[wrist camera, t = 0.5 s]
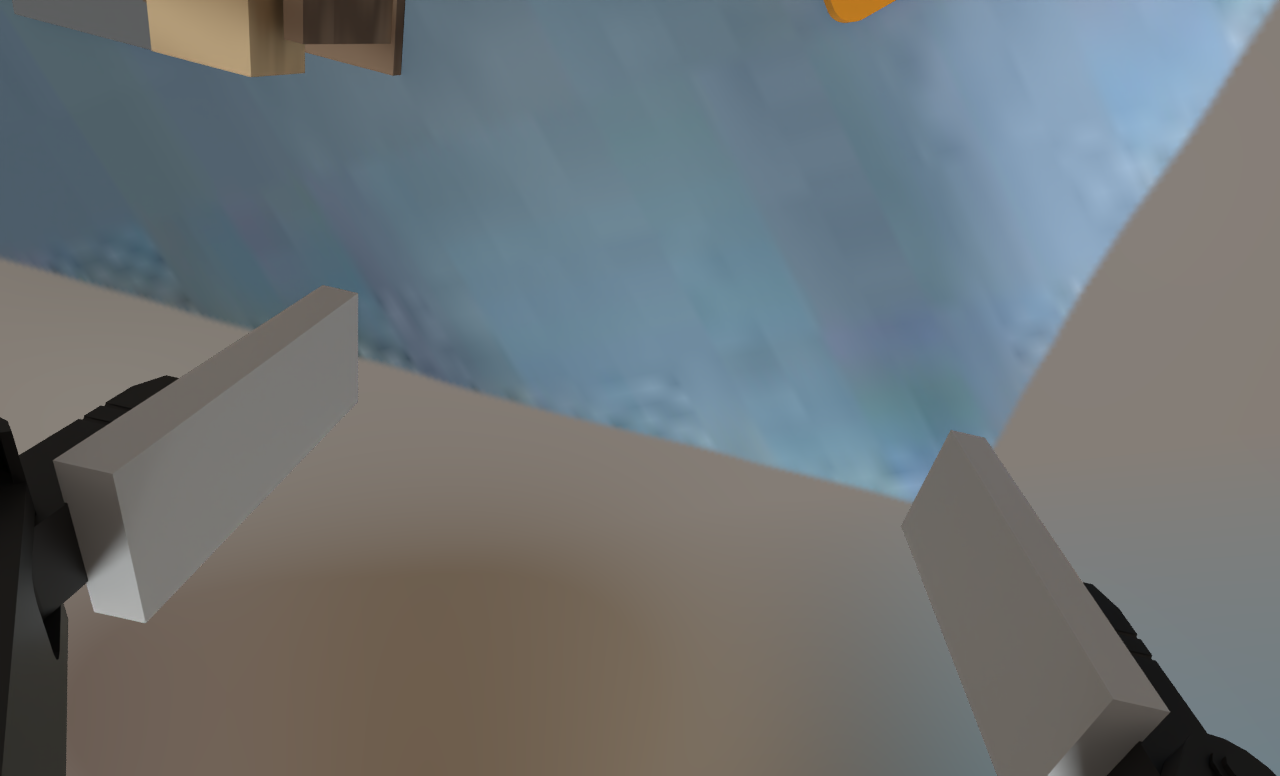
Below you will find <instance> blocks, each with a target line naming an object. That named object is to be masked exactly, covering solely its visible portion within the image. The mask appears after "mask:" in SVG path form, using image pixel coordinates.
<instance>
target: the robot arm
mask: <svg viewBox="0 0 1280 776" xmlns="http://www.w3.org/2000/svg"><path fill="white" fill-rule="evenodd" d="M357 402H358V293H355V292H350V291H346V290H342V289H337V288H333V287H329V286H324V285H322V286H321V287H319V288H318V289H316V290H315V291H313V292H311V293H310V294H308V295H307V296H305V297H304V298H302V299H301V300H299V301H298V302H296V303H295V304H293V305H291V306H290V307H288V308H287V309H285V310H284V311H282V312H281V313H279V314H278V315H276V316H274V317H273V318H271V319H270V320H268V321H267V322H265V323H264V324H262V325H261V326H259V327H258V328H256V329H254V330H253V331H251V332H250V333H248V334H247V335H245V336H244V337H242V338H241V339H239V340H237V341H236V342H234V343H233V344H231V345H230V346H228V347H227V348H225V349H224V350H222V351H221V352H219V353H218V354H216V355H215V356H213V357H211V358H210V359H208V360H207V361H205V362H204V363H202V364H201V365H199V366H197V367H196V368H194V369H193V370H191V371H190V372H188V373H187V374H185V375H184V376H182V377H180V378H175V377H171V376H167V375H166V376H163V377H160V378H157V379H153V380H151V381H148V382H144V383H141V384H138V385H135V386H132V387H130V388H129V389H127V390H126V391H124V392H122V393H121V394H119V395H117V396H116V397H114V398H112V399H111V400H109V401H107V402H106V404H105V406H99V407H98V408H96V409H94V410H93V411H91V412H89V413H88V414H86V415H84V419H83V420H81V419H78V420H76V421H75V422H73V423H72V424H70V425H68V426H66V427H65V428H63V429H61V430H60V431H58V432H57V433H55V434H53V435H52V436H50V437H48V438H47V439H45V440H43V441H42V442H40V443H38V444H37V445H35V446H34V447H32V448H30V449H29V450H27V451H25V452H24V453H22V454H20V455H18V451H17V448H16V445H15V441H14V438H13V435H12V431H11V429H10V426H9V424H8V421H6V420H4V419H2V418H0V776H66V730H67V728H66V727H67V725H66V724H67V723H66V722H67V659H68V655H67V654H68V617H67V614H66V610H65V607H64V604H63V603H64V602H65V601H66V600H67V599H68V598H70V597H71V596H72V595H73V594H74V593H75V592H77V591H78V590H79V589H80V588H81V587H82V586H83V585H84V584H85V583H86V584H87V588H88V591H89V595H90V599H91V602H92V606H93V610H94V612H98V613H102V614H106V615H111V616H115V617H120V618H124V619H129V620H133V621H138V622H142V623H146V622H147V621H148V620H149V619H150V618H151V617H152V616H153V615H154V614H155V613H156V612H157V611H158V610H159V609H160V608H161V607H162V606H163V605H164V603H166V602H167V600H168V599H169V598H170V597H171V596H172V595H173V594H174V593H175V592H176V591H177V590H178V589H179V588H180V587H181V586H182V585H183V584H184V583H185V582H186V581H187V580H188V579H189V577H191V575H192V574H193V573H194V572H195V571H196V570H197V569H198V568H199V567H200V566H201V565H202V564H203V563H204V562H205V561H206V560H207V559H208V558H209V557H210V556H211V555H212V553H214V551H215V550H216V549H217V548H218V547H219V546H220V545H221V544H222V543H223V542H224V541H225V540H226V539H227V538H228V537H229V536H230V535H231V534H232V533H233V532H234V531H235V529H236V528H237V527H238V526H239V525H240V524H241V523H242V522H243V521H244V520H245V519H246V518H247V517H248V516H249V515H250V514H251V513H252V512H253V511H254V510H255V509H256V508H257V507H258V506H259V505H260V503H261V502H262V501H263V500H264V499H265V498H266V497H267V496H268V495H269V494H270V493H271V492H272V491H273V490H274V489H275V488H276V487H277V486H278V484H280V483H281V482H282V481H283V479H284V478H285V477H286V476H287V475H288V474H289V473H290V472H291V471H292V470H293V469H294V468H295V467H296V466H297V465H298V464H299V463H300V462H301V461H302V459H304V458H305V457H306V455H307V454H308V453H309V452H310V451H311V450H312V449H313V448H314V447H315V446H316V445H317V444H318V443H319V442H320V441H321V440H322V439H323V438H324V437H325V436H326V435H327V433H329V431H330V430H331V429H332V428H333V427H334V426H335V425H336V424H337V423H338V422H339V421H340V420H341V419H342V418H343V417H344V416H345V415H346V414H347V413H348V412H349V410H350V409H352V407H353V406H354V405H355V404H356V403H357ZM901 527H902V530H903V532H904V535H905V537H906V540H907V543H908V545H909V548H910V550H911V553H912V555H913V558H914V560H915V563H916V566H917V569H918V571H919V573H920V576H921V579H922V582H923V584H924V587H925V589H926V592H927V595H928V597H929V600H930V602H931V605H932V608H933V610H934V613H935V615H936V618H937V620H938V623H939V625H940V628H941V631H942V633H943V636H944V639H945V641H946V644H947V646H948V649H949V652H950V654H951V657H952V659H953V662H954V664H955V667H956V670H957V672H958V675H959V678H960V680H961V683H962V685H963V688H964V690H965V693H966V696H967V698H968V701H969V704H970V706H971V708H972V711H973V714H974V716H975V719H976V722H977V724H978V727H979V729H980V732H981V735H982V737H983V739H984V742H985V745H986V747H987V750H988V753H989V755H990V758H991V761H992V763H993V766H994V768H995V770H996V773H997V776H1276V775H1275V774H1274V773H1273V772H1272V771H1271V770H1270V769H1269V768H1268V767H1267V766H1266V765H1264V764H1263V763H1261V762H1260V761H1259V760H1258V759H1256V758H1255V757H1254V756H1252V755H1251V754H1250V753H1248V752H1247V751H1246V750H1244V749H1242V748H1240V747H1238V746H1236V745H1235V744H1233V743H1231V742H1229V741H1227V740H1225V739H1223V738H1220V737H1216V736H1213V735H1210V734H1207V733H1206V731H1205V730H1204V728H1203V727H1202V725H1201V724H1200V722H1199V721H1198V720H1197V718H1196V717H1195V715H1194V714H1193V712H1192V711H1191V710H1190V708H1189V707H1188V705H1187V704H1186V703H1185V701H1184V700H1183V698H1182V697H1181V696H1180V694H1179V693H1178V691H1177V690H1176V688H1175V687H1174V686H1173V684H1172V683H1171V681H1170V680H1169V679H1168V677H1167V676H1166V674H1165V673H1164V671H1163V670H1162V669H1161V668H1160V666H1159V664H1158V663H1157V662H1156V661H1155V660H1152V659H1151V657H1152V655H1151V653H1150V652H1149V650H1148V649H1147V647H1146V646H1145V645H1144V643H1143V642H1142V640H1141V639H1137V637H1136V636H1137V633H1136V632H1135V631H1134V629H1133V628H1132V626H1131V625H1130V623H1129V622H1128V621H1127V619H1126V618H1125V616H1124V615H1123V614H1122V612H1121V611H1120V609H1119V608H1118V607H1116V606H1115V605H1114V604H1113V603H1112V602H1111V601H1110V600H1109V599H1108V598H1107V597H1106V596H1105V595H1103V594H1102V593H1101V592H1100V591H1099V590H1098V589H1097V588H1096V587H1095V586H1094V585H1092V584H1088V583H1084V582H1082V581H1081V579H1080V578H1079V576H1078V575H1077V574H1076V572H1075V570H1074V569H1073V568H1072V566H1071V564H1070V563H1069V562H1068V560H1067V559H1066V557H1065V556H1064V554H1063V553H1062V551H1061V550H1060V548H1059V547H1058V545H1057V544H1056V542H1055V541H1054V539H1053V538H1052V537H1051V535H1050V533H1049V532H1048V531H1047V529H1046V528H1045V526H1044V525H1043V523H1042V522H1041V520H1040V519H1039V517H1038V516H1037V514H1036V513H1035V511H1034V510H1033V508H1032V507H1031V505H1030V504H1029V502H1028V501H1027V499H1026V498H1025V496H1024V495H1023V494H1022V492H1021V491H1020V489H1019V488H1018V486H1017V485H1016V483H1015V482H1014V480H1013V479H1012V477H1011V476H1010V474H1009V473H1008V472H1007V470H1006V468H1005V467H1004V465H1003V464H1002V463H1001V461H1000V460H999V458H998V457H997V455H996V454H995V452H994V451H993V449H992V448H991V446H990V445H989V443H988V442H987V440H986V439H985V438H983V437H979V436H974V435H970V434H966V433H961V432H957V431H953V430H951V431H950V433H949V435H948V436H947V438H946V440H945V442H944V444H943V446H942V448H941V450H940V452H939V454H938V456H937V458H936V460H935V462H934V463H933V465H932V467H931V469H930V471H929V473H928V475H927V477H926V479H925V481H924V483H923V485H922V487H921V488H920V490H919V492H918V494H917V496H916V498H915V500H914V502H913V504H912V506H911V508H910V510H909V512H908V514H907V516H906V518H905V520H904V521H903V523H902V525H901Z"/></svg>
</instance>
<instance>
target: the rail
mask: <svg viewBox="0 0 1280 776" xmlns="http://www.w3.org/2000/svg"><path fill="white" fill-rule="evenodd" d="M146 1H147V11H148V21H149V30H150V40H151V50H152V51H154V52H158V53H162V54H165V55H169V56H173V57H177V58H181V59H184V60H188V61H192V62H196V63H200V64H203V65H207V66H211V67H215V68H218V69H222V70H226V71H230V72H234V73H237V74H241V75H245V76H249V77H259V76H272V75H285V74H298V73H305V44H300V43H296V42H293V41H289V40H285V39H284V20H283V0H146Z"/></svg>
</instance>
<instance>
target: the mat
mask: <svg viewBox="0 0 1280 776" xmlns="http://www.w3.org/2000/svg"><path fill="white" fill-rule="evenodd" d="M12 2H13V8H14V13H15V14H17V15H21V16H25V17H28V18H32V19H36V20H40V21H43V22H47V23H51V24H55V25H59V26H62V27H66V28H70V29H74V30H78V31H81V32H85V33H89V34H93V35H96V36H100V37H104V38H108V39H112V40H115V41H119V42H123V43H127V44H130V45H134V46H138V47H142V48H146V49H149V50H151V40H150V30H149V21H148V11H147V3H146V2H143V0H12Z"/></svg>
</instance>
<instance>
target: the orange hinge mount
mask: <svg viewBox="0 0 1280 776" xmlns="http://www.w3.org/2000/svg"><path fill="white" fill-rule="evenodd" d="M894 1H895V0H824V2H825V5H826V8H827V10H828V13H829V14H830V16H831V17H832V18H833V19H834V20H836V21H838V22H842V23H848V22H855V21H859V20H862V19H864V18H865V17H867V16H869V15H871V14H872V13H874V12H876V11H878V10H879V9H881V8H883V7H885V6H886V5H888V4H890V3H892V2H894Z"/></svg>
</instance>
